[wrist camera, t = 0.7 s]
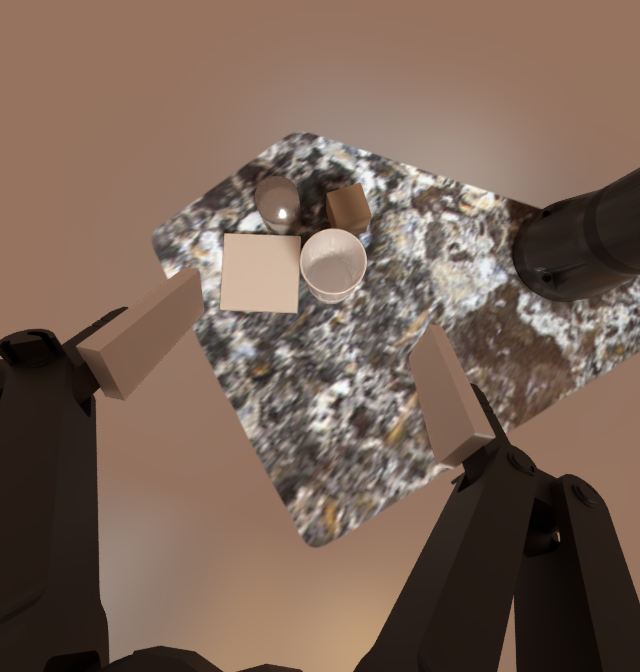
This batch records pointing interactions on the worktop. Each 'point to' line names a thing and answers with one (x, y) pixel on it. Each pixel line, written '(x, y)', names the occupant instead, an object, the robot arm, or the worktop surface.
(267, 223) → the grey tin
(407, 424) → the worktop surface
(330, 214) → the walnut block
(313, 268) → the white cup
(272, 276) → the tile
